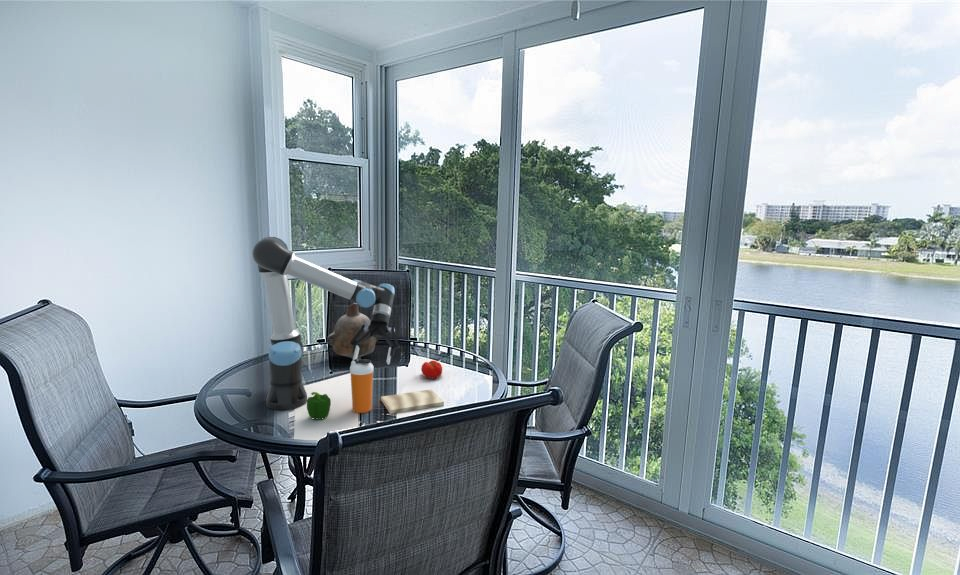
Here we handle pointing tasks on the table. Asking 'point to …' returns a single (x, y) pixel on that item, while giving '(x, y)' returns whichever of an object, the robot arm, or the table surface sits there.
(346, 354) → the jug
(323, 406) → the bell pepper
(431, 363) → the tomato
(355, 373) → the shaker bottle
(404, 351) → the table surface
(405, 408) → the oak board
